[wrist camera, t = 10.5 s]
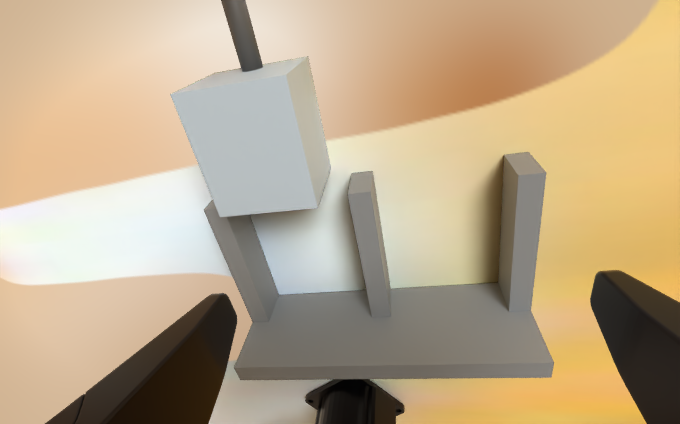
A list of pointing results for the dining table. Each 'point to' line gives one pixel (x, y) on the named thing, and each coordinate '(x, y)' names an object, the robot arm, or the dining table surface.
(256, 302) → the lane rack
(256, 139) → the orange knob joystick
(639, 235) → the dining table surface
